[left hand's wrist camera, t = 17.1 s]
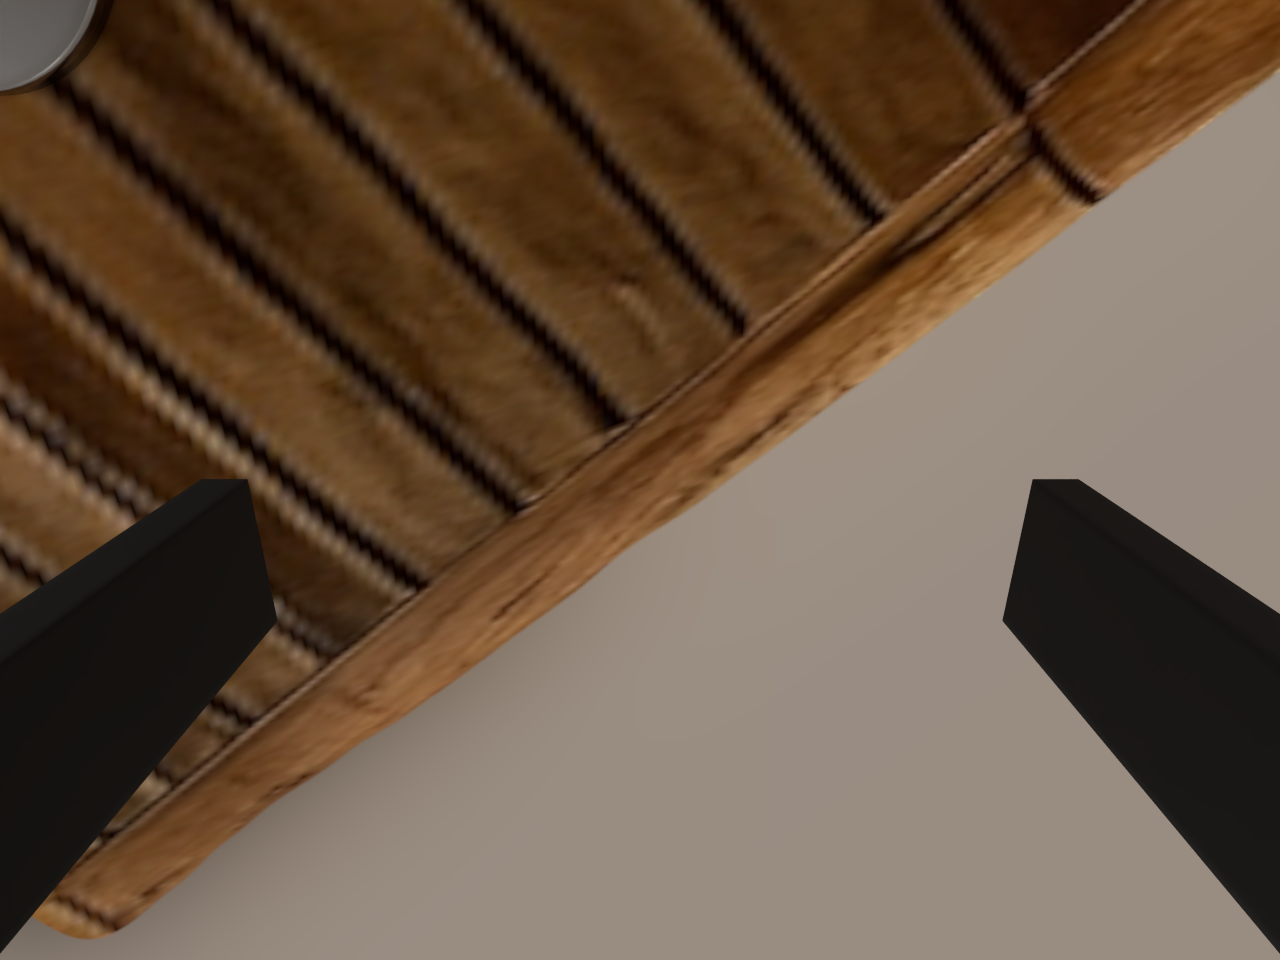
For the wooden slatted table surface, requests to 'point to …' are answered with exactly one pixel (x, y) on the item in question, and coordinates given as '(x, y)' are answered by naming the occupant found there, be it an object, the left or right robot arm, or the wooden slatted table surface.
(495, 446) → the wooden slatted table surface
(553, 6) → the wooden slatted table surface
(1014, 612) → the left robot arm
